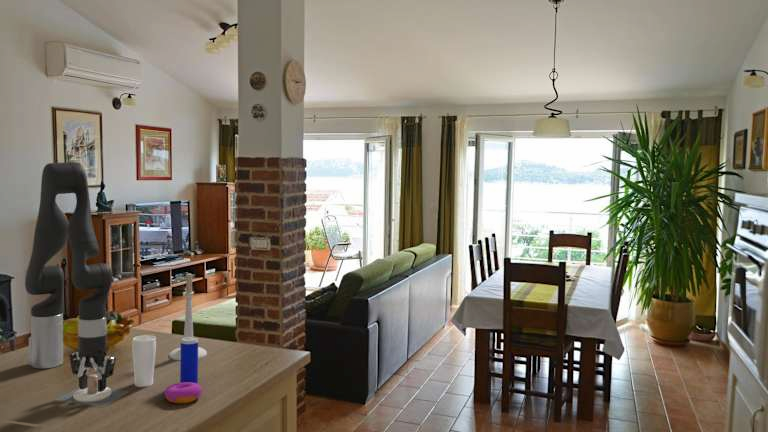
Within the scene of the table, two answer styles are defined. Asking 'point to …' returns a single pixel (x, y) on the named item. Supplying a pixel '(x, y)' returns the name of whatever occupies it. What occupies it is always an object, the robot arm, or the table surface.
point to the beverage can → (189, 360)
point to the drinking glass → (144, 359)
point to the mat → (102, 403)
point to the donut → (183, 392)
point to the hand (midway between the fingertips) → (92, 389)
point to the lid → (91, 391)
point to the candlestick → (188, 321)
